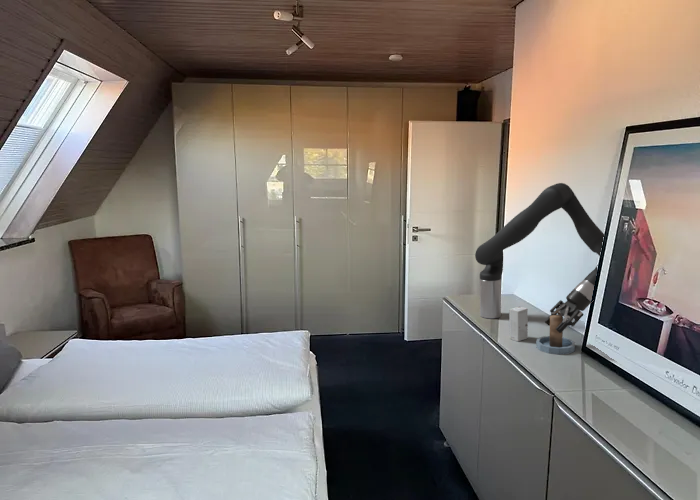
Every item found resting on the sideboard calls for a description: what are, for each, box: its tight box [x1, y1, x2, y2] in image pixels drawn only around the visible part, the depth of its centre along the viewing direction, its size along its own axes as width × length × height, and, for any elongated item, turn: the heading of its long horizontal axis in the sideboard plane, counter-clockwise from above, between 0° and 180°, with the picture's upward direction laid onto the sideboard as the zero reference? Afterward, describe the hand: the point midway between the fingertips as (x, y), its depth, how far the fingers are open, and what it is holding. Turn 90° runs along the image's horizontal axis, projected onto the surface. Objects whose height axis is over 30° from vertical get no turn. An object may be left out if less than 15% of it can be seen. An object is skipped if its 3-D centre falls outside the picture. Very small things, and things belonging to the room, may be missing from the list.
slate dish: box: [535, 335, 576, 355], centre depth 182 cm, size 13×13×2 cm
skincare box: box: [508, 306, 529, 342], centre depth 192 cm, size 6×4×12 cm
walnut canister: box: [549, 315, 564, 347], centre depth 181 cm, size 4×4×11 cm
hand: (552, 327), depth 180 cm, fingers open, 8 cm apart
